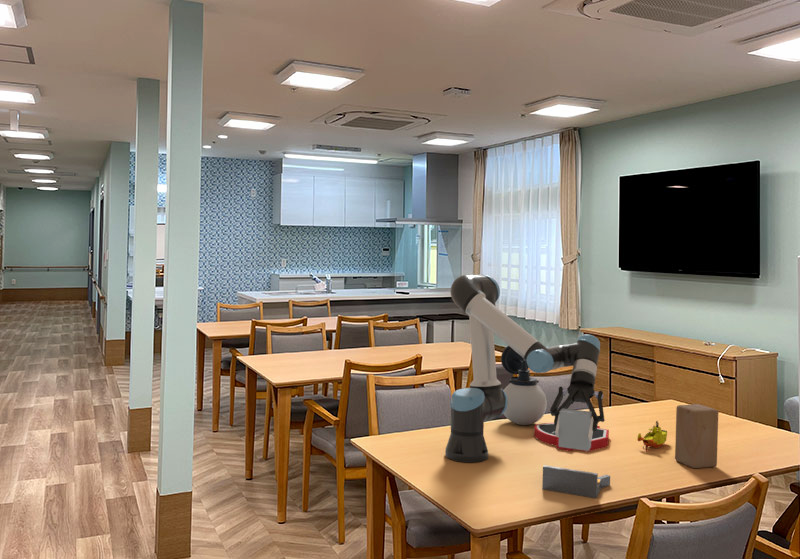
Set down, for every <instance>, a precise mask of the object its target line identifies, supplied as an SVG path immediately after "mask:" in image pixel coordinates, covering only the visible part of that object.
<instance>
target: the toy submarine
mask: <svg viewBox="0 0 800 559" xmlns="http://www.w3.org/2000/svg"><path fill="white" fill-rule="evenodd" d="M648 430H649V431H648V432H647V433H645V435H644V436H643V437H642V434H641V433H638V434H637V441H638V442H641V441H642V443H643V446H642V449H643V450H645V452H648V449H649V447H650V448H653V449H658V448H661V447H663V446H664V445H665V443H666V441H667V438H668V431H667V430H665V429H662V428H661V426H659V421H658V420H656V421H655V424H654V425H653V426H652V428H649V429H648Z"/></svg>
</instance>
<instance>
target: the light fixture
mask: <svg viewBox="0 0 800 559" xmlns="http://www.w3.org/2000/svg"><path fill="white" fill-rule="evenodd" d="M500 362H501V366H502V367H503V369H504V370H505V371H506V372H508V373H509V374H511V375H518V376H512V377H511V378H510V380H508V385H507V386H505V388H504V389H503V391H504V392H505V393H506V395H507V398H508V405H507V408H506V410H505V412H504V413H503V414H502V415H504V416H505V418H507V420H509V421H510V422H511V423H514V424H516V425H519V426H520V425H521V426H528V425H532V424H535V423H537V422H538V421H540V420H541V419H542V418H543V417H544V415H545V413H546V410H547V404H548V402H547V397H546V394H545V393H544V390H543V389H542V388H541V386H539V385H538V383H539V382H540V381H539V379H537V378H535V377H532V376H530V372H531V370H530V369H529V367H528V365H527V361H526V360H525V359H524V358H523V357H522V356H521V355H519V354H518V353H517V352H516V351H515V350H513V349H512V348H511V347H510V346H509V345H507V346H506V347H505V348H504V349H503V350H502V353H501V356H500Z"/></svg>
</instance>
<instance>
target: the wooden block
mask: <svg viewBox="0 0 800 559" xmlns="http://www.w3.org/2000/svg"><path fill="white" fill-rule="evenodd" d="M675 410H676V411H675V413H676V414H675V415H676V416H675V441H674V442H675V446H674V448H675V449H674V459H675V461H676V462H678V463H681V464H683V465H685V466H687V467H689V468H692V469H704V468H714V467H717V465H718V445H719V444H718V441H719V439H718V436H719V433H718V432H719V410H718V409H716V408H713V407H712V408H711V407H709V406H705V405H702V404H698V403H697V404H696V403H695V404H694V403H693V404H678V405H677V406H676V409H675Z"/></svg>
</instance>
